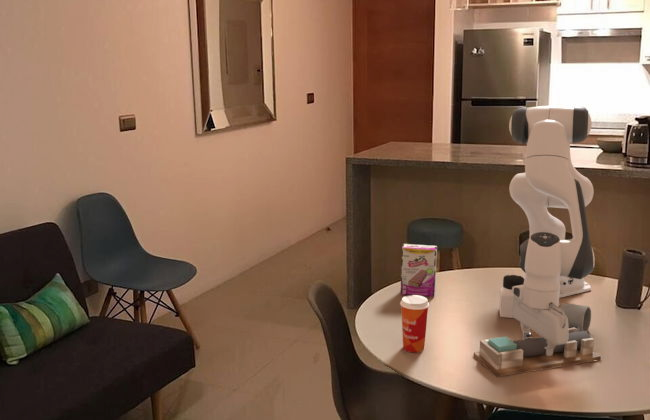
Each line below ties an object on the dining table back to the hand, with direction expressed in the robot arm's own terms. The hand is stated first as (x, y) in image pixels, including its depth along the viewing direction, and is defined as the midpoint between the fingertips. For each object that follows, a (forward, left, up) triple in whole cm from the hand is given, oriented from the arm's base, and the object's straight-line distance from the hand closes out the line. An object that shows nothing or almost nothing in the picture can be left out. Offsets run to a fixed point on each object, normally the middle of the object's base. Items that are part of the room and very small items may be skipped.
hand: (537, 346), depth 174 cm
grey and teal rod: (-1, 0, -2) cm, 2 cm away
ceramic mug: (-19, -12, -3) cm, 23 cm away
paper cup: (+28, -15, -3) cm, 32 cm away
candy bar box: (+10, -52, -3) cm, 53 cm away
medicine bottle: (-10, -28, -3) cm, 30 cm away
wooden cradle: (0, 0, -3) cm, 3 cm away
